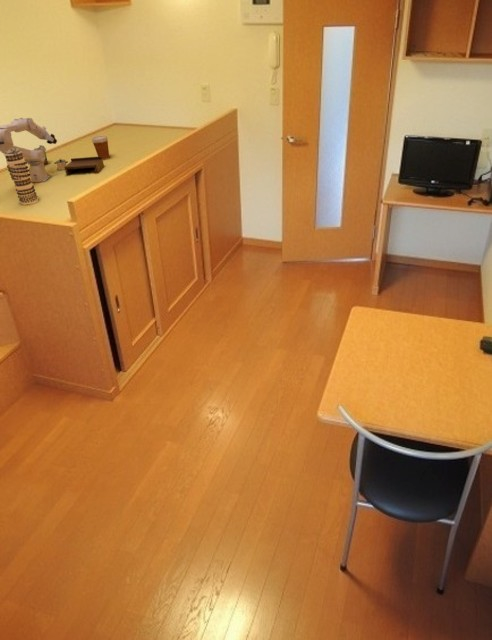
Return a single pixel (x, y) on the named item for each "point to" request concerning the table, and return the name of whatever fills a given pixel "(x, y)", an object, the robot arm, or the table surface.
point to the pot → (61, 164)
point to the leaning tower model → (20, 176)
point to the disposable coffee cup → (101, 146)
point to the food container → (44, 153)
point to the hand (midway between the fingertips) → (50, 139)
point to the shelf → (85, 164)
